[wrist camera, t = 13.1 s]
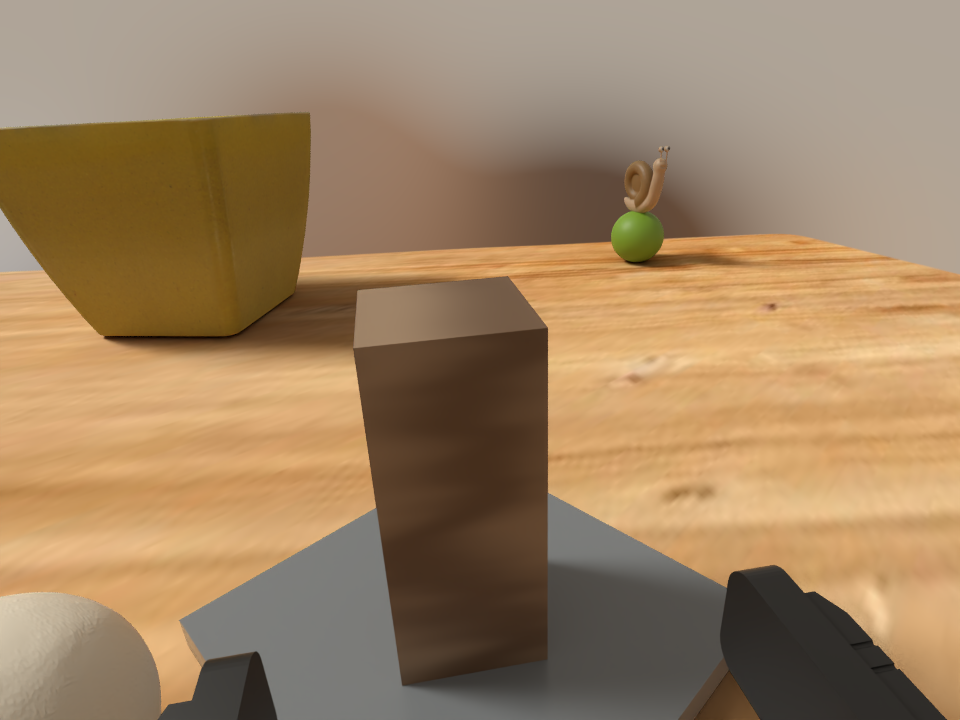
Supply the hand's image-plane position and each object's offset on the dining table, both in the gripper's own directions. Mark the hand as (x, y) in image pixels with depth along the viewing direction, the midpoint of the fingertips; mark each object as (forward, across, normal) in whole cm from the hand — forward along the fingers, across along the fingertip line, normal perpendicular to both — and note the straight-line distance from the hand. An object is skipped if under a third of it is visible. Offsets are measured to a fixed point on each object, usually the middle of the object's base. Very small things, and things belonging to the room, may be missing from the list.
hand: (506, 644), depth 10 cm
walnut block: (+8, 0, +8) cm, 11 cm away
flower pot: (+49, +18, +9) cm, 53 cm away
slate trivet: (+8, 0, +9) cm, 12 cm away
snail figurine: (+52, -25, +9) cm, 59 cm away
